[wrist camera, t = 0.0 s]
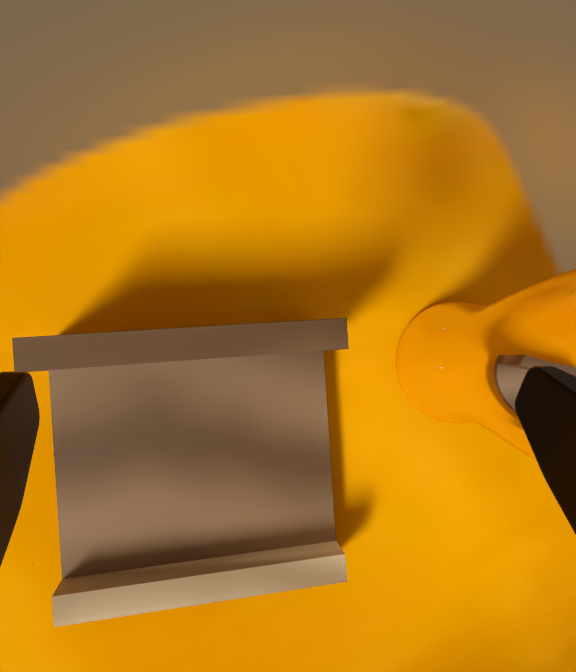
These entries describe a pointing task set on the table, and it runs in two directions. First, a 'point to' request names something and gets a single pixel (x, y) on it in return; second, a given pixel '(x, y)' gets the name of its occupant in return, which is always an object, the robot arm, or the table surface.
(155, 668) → the table surface
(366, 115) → the table surface
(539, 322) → the beer glass
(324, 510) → the grey bracket
